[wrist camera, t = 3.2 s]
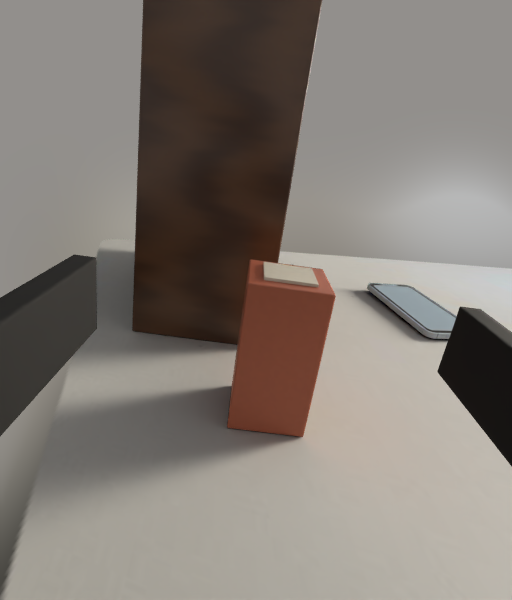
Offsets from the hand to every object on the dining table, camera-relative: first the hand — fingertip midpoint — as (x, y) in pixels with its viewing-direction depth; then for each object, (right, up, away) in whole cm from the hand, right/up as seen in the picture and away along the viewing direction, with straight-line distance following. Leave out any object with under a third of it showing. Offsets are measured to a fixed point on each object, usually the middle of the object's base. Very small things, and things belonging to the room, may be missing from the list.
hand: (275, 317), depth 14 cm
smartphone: (+20, -1, +37) cm, 42 cm away
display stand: (-6, +2, +34) cm, 34 cm away
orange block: (0, -7, +14) cm, 15 cm away
